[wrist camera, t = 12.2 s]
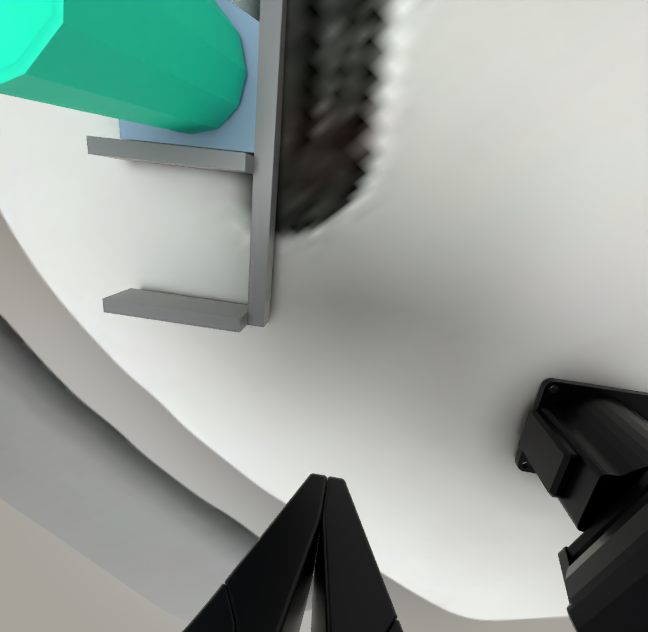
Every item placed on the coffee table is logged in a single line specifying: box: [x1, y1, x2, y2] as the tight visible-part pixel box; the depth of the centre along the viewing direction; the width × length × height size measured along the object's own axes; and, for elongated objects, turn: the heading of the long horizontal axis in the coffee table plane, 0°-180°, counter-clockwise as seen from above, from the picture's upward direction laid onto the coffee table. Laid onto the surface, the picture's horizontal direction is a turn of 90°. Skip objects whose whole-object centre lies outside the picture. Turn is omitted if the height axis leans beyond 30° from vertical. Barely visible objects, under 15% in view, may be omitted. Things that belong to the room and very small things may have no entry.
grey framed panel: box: [87, 0, 287, 332], centre depth 18 cm, size 9×17×2 cm, turn 174°
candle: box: [0, 0, 247, 134], centre depth 12 cm, size 6×6×12 cm
